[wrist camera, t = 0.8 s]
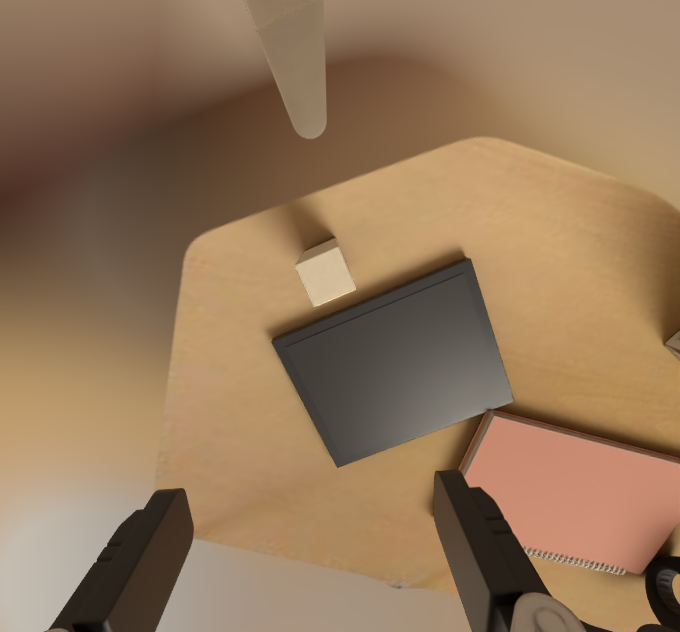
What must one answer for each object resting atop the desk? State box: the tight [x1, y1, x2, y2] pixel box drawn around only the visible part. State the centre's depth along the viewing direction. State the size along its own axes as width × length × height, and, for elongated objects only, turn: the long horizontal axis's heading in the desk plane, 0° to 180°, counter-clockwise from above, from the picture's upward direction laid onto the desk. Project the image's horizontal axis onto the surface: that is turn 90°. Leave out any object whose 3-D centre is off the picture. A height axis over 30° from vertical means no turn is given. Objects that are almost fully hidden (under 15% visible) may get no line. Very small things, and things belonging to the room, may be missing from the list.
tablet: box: [272, 258, 514, 468], centre depth 33 cm, size 16×20×1 cm
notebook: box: [434, 409, 680, 575], centre depth 38 cm, size 27×17×2 cm, turn 73°
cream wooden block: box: [295, 237, 356, 307], centre depth 26 cm, size 3×3×10 cm
